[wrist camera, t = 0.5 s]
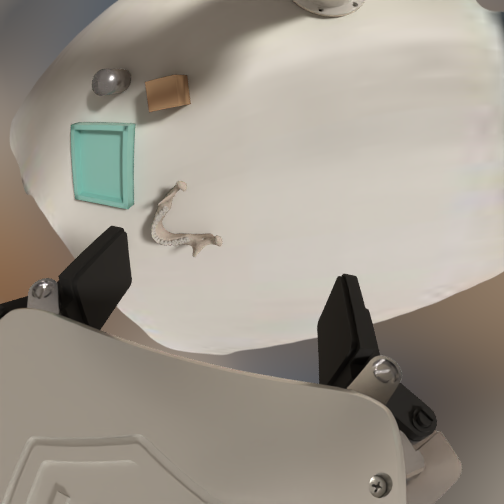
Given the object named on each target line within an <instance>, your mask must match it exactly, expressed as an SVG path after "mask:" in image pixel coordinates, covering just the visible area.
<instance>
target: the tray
mask: <svg viewBox="0 0 504 504" xmlns="http://www.w3.org/2000/svg"><path fill="white" fill-rule="evenodd" d="M134 138H135V124H133V123H108V122H78V123H75V124H72V125H71V155H72V171H73V183H74V193H75V199H78V200H83V201H88V202H94V203H99V204H104V205H109V206H114V207H119V208H124V209H129V208H130V207H131V206H132V205H134Z"/></svg>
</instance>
